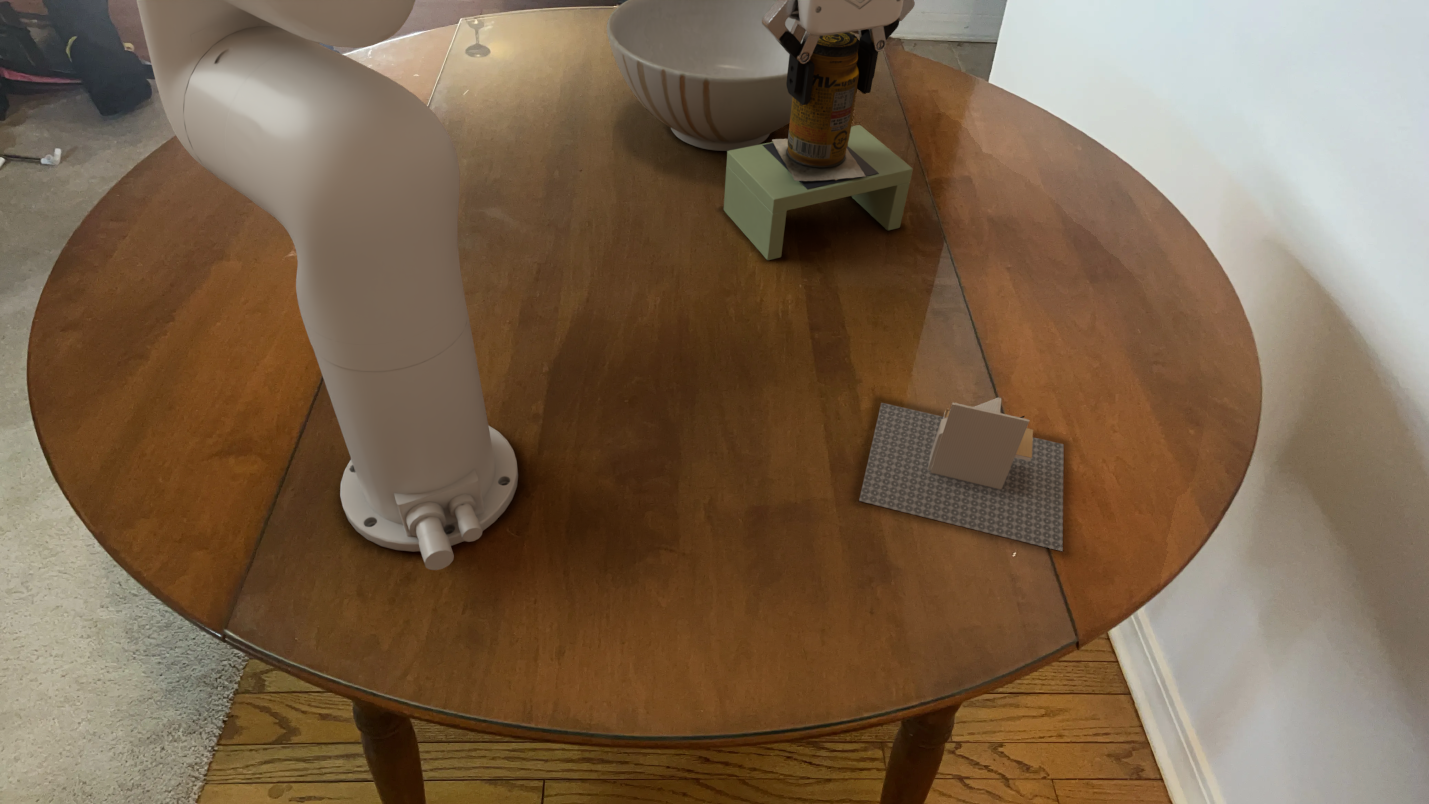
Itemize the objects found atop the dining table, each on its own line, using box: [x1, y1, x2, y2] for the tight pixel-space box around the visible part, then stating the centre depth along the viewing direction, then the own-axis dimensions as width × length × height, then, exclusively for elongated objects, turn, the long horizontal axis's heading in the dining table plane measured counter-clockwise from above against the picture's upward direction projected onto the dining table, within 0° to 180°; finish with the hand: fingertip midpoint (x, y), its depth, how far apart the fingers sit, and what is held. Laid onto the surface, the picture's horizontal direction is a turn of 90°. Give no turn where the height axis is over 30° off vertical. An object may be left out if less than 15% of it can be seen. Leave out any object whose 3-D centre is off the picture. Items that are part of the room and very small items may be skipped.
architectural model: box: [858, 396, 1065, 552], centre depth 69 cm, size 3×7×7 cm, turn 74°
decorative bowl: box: [606, 0, 807, 152], centre depth 106 cm, size 27×27×12 cm
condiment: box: [771, 32, 865, 181], centre depth 87 cm, size 7×8×12 cm
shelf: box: [723, 124, 914, 261], centre depth 93 cm, size 10×16×7 cm, turn 116°
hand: (829, 91), depth 86 cm, fingers closed on condiment, 6 cm apart
